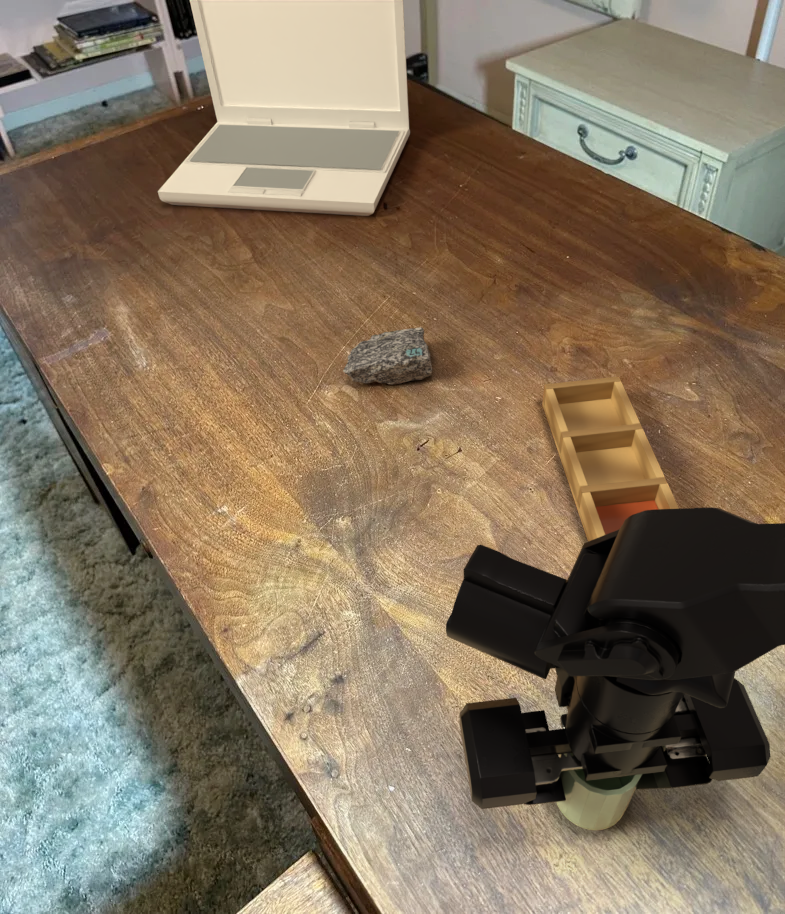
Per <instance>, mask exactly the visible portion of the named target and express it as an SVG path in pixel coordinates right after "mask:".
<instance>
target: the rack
mask: <svg viewBox="0 0 785 914" xmlns="http://www.w3.org/2000/svg"><path fill="white" fill-rule="evenodd" d="M541 404H542V409H543V411H544V414H545V417H546V420H547V423H548V426H549V430H550V432H551V435H552V438H553V441H554V443H555V447H556V450H557V453H558V456H559V459H560V462H561V465H562V468H563V471H564V474H565V477H566V479H567V482H568V486H569V488H570V491H571V494H572V498H573V501H574V504H575V506H576V509H577V512H578V515H579V519H580V522H581V524H582V527H583V530H584V533H585V536H586V539H587V542H588V541H591V540H593V539H596V538H598V537H601V536H604V535H606V534H609V533H611V532H614V531H616V530H619V529H620V527H621V526H622V525H623V523H624V521H625V520H626V519H627V518H628V517H630V516H631V515H633V514H636V513H639V512H642V511H645V510H654V509H680V507H679V505H678V503H677V500H676V498H675V496H674V494H673V491H672V490H671V487H670V486H669V483H668V481H667V479H666V477H665V475H664V472H663V470H662V467H661V466H660V463H659V461H658V458H657V456H656V454H655V452H654V450H653V447H652V446H651V444H650V441H649V439H648V436H647V434H646V433H645V429H644V428H643V426H642V424H641V422H640V419H639V417H638V415H637V413H636V410H635V408H634V406H633V405H632V402H631V400H630V397H629V395H628V393H627V391H626V388H625V386H624V384H623V382H622V380H621V377H620V376H609V377H600V378H590V379H589V378H588V379H582V380H572V381H561V382H554V383H553V382H552V383H545V384H544V385H543V394H542V403H541Z"/></svg>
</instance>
